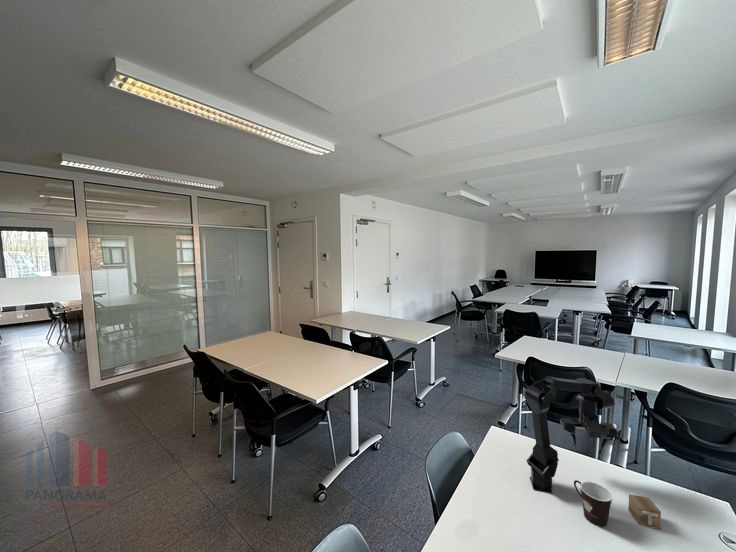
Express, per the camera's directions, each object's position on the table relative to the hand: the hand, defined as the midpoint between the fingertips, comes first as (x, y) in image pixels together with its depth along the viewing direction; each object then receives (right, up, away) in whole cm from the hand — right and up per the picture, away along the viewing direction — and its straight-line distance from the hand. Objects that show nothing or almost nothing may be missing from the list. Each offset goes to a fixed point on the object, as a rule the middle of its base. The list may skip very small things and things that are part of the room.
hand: (587, 446), depth 121 cm
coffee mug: (-12, -13, -18) cm, 26 cm away
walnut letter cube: (+4, -13, -20) cm, 25 cm away
